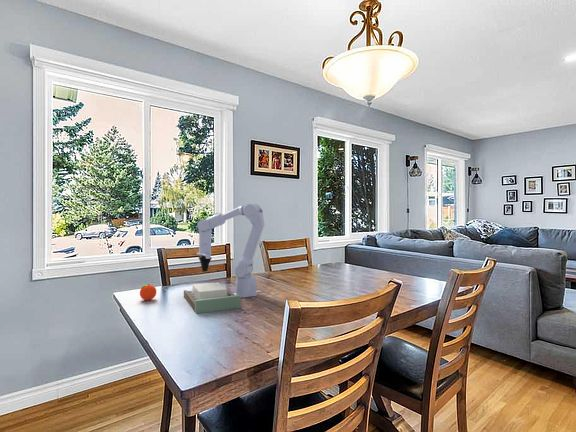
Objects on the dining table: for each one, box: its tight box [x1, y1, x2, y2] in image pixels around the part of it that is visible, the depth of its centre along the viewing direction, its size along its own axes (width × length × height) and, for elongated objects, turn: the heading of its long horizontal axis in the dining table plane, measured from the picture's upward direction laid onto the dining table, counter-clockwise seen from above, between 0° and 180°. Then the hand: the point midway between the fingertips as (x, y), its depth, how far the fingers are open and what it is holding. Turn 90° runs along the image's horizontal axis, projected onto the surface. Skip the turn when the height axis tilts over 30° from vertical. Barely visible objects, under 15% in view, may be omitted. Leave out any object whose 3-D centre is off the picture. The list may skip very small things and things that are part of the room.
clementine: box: [138, 284, 157, 301], centre depth 147 cm, size 8×7×7 cm
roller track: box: [183, 289, 234, 313], centre depth 147 cm, size 18×24×3 cm
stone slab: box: [192, 282, 228, 299], centre depth 148 cm, size 12×14×3 cm
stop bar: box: [194, 294, 241, 314], centre depth 135 cm, size 18×2×5 cm, turn 118°
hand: (204, 271), depth 162 cm, fingers closed
